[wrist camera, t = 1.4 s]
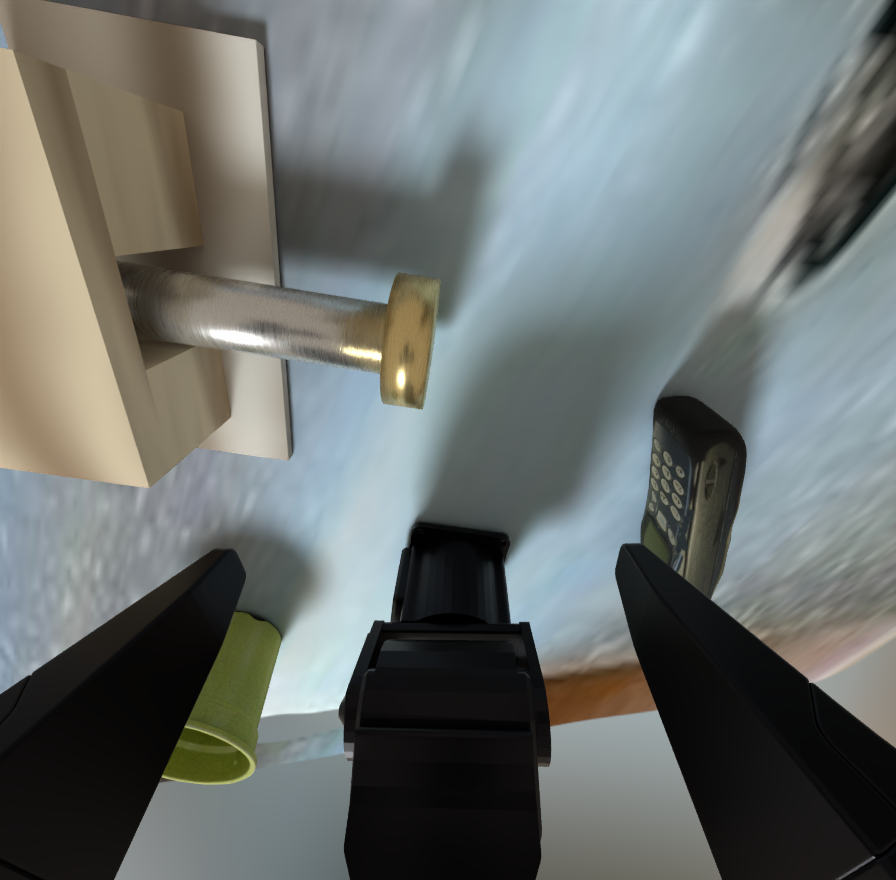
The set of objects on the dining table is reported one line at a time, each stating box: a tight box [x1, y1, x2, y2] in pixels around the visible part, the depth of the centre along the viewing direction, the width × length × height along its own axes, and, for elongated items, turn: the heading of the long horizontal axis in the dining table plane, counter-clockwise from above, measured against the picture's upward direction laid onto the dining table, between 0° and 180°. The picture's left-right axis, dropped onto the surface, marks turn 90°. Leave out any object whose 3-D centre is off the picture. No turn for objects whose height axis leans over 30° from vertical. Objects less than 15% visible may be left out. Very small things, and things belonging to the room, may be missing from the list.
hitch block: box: [0, 0, 292, 488], centre depth 15 cm, size 9×18×7 cm, turn 172°
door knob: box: [116, 260, 441, 410], centre depth 16 cm, size 16×5×5 cm, turn 82°
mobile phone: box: [641, 396, 747, 599], centre depth 22 cm, size 5×3×15 cm
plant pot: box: [162, 612, 281, 784], centre depth 29 cm, size 9×9×9 cm
